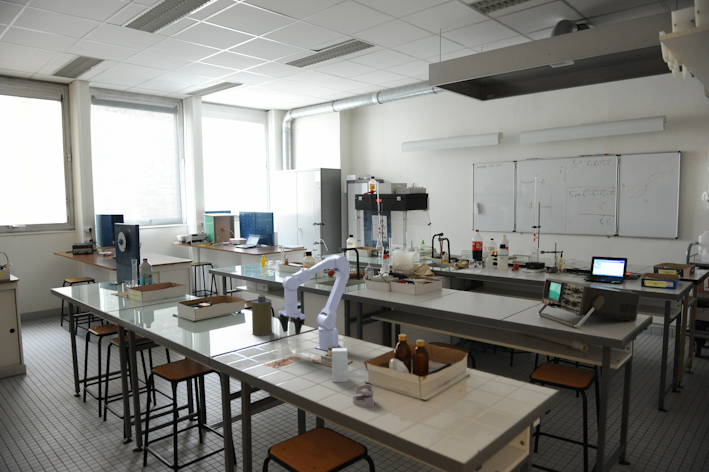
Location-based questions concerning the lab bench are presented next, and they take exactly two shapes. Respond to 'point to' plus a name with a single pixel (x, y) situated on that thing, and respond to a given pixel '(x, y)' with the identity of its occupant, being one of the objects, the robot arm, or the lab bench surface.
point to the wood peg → (330, 350)
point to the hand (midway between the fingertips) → (291, 332)
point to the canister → (261, 316)
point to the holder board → (326, 360)
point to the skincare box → (339, 365)
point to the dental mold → (364, 396)
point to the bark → (285, 361)
